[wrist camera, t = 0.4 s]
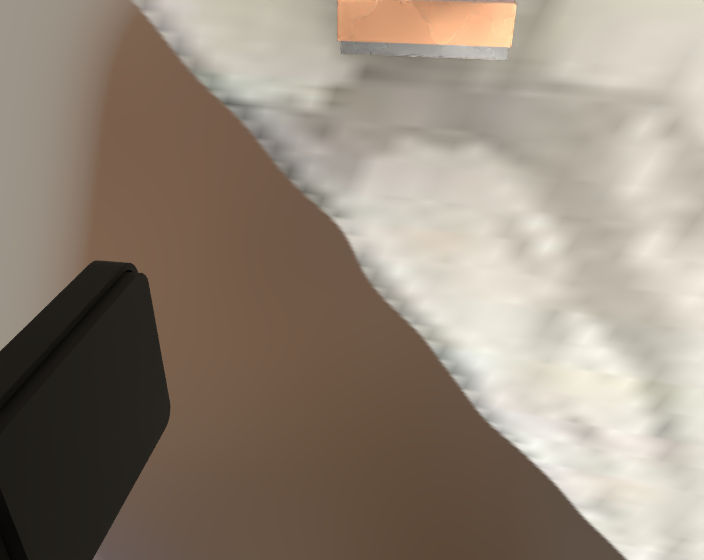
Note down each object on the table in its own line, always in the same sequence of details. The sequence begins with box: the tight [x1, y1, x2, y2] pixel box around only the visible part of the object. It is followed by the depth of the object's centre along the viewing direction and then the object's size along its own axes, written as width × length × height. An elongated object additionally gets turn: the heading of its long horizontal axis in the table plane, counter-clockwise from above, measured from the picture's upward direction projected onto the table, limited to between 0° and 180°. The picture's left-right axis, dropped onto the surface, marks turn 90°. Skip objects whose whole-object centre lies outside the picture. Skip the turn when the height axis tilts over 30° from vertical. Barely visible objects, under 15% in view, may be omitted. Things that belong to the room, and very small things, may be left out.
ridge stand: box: [337, 0, 517, 60], centre depth 29 cm, size 4×7×9 cm, turn 90°
